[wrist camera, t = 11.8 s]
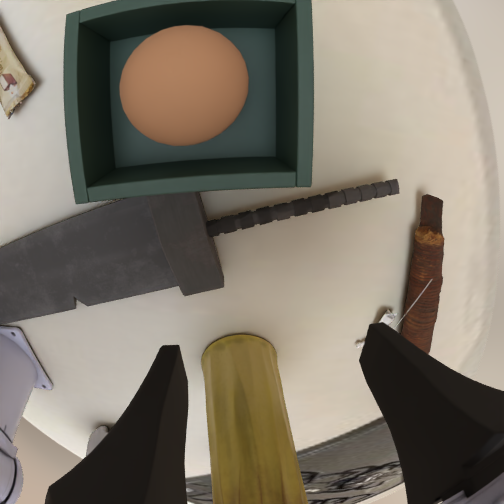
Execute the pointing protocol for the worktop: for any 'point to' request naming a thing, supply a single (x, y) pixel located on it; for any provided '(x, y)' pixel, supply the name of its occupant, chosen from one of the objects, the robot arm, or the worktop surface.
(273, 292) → the worktop surface
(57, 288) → the flat dark sword
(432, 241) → the hand tool
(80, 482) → the robot arm
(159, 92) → the egg
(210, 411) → the vase
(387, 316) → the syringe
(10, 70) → the snack bar
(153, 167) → the tote
